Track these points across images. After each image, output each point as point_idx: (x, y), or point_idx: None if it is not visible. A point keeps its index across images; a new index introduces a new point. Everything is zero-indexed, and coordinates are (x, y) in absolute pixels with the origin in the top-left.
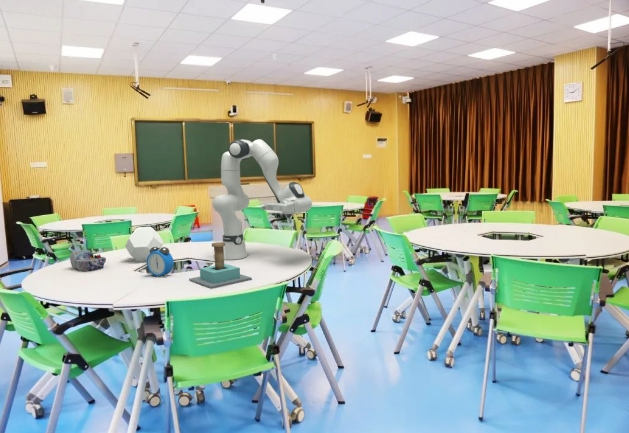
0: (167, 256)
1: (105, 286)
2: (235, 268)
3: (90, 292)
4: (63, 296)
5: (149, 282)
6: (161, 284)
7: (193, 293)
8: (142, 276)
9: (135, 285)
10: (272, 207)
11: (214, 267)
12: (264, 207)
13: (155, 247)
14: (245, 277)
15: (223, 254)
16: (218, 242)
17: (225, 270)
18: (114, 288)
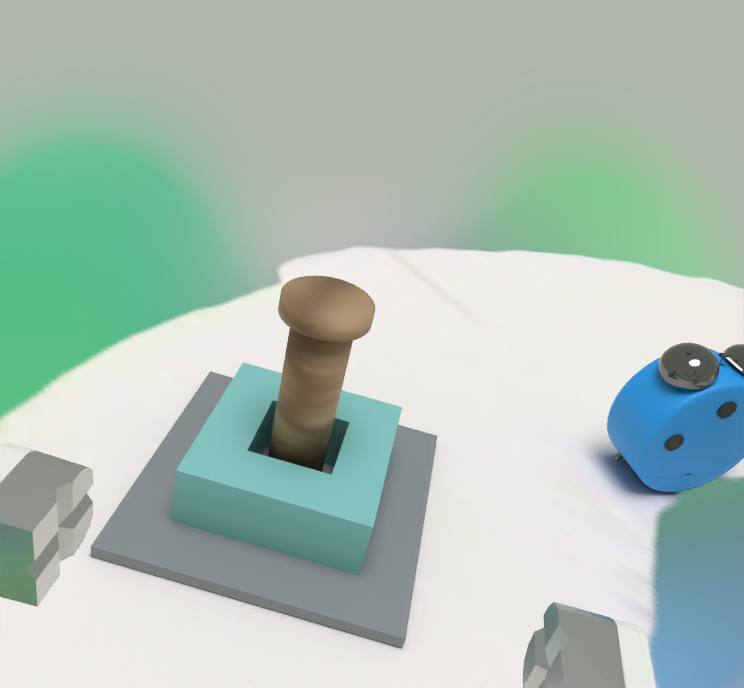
0: (653, 388)
1: (615, 333)
2: (191, 450)
3: (566, 292)
4: (577, 266)
5: (553, 390)
6: (479, 382)
7: (233, 331)
8: None
9: (547, 356)
10: (44, 454)
11: (344, 438)
12: (546, 675)
13: (741, 349)
14: (139, 536)
15: (288, 371)
16: (356, 317)
17: (219, 406)
18: (561, 324)
